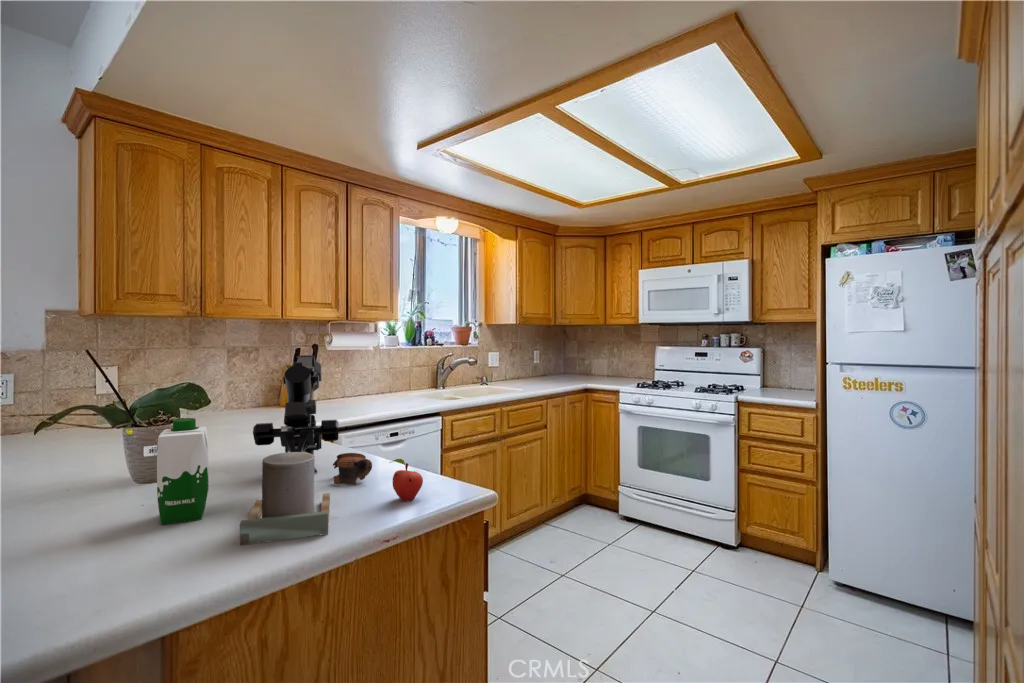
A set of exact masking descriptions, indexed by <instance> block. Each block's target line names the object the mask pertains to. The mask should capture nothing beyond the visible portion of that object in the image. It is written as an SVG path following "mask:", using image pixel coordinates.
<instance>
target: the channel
mask: <svg viewBox="0 0 1024 683" xmlns="http://www.w3.org/2000/svg"><path fill="white" fill-rule="evenodd" d="M321 500H322V501H321V508H320V511H316V512H315V511H314V513H305V514H296V515H286V516H277V517H268V518H262V499H256V501H255V502H254V505H253V506H252V509H251V510H250V513H249V515H248V517H247V519H243V520H242V519H241V520H240V523H239V546H243V545H244V546H245V544H246V545H253V543H254V544H261V543H260V542H262V543H268V542H267V541H270V542H277V540H278V541H285V539H286V540H293V538H294V539H299V537H302V538H307V537H306V536H311V537H314V536H313V535H319V536H321V535H320V534H327V535H329V525H330V524H329V522H330V508H329V507H331V506H330V505H331V493H330V492H326V493H322V499H321ZM328 524H329V525H328ZM258 542H259V543H258Z"/></svg>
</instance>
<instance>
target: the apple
mask: <svg viewBox="0 0 1024 683" xmlns="http://www.w3.org/2000/svg"><path fill="white" fill-rule="evenodd" d="M393 462H395V463H399V464H403V465H405V466H404V467H405V468H404V469H405V470H403V469H399V470H395V472H394V473H393V476H392V488H393V490H394V492H395V493H396V496H397V497H398V498H399V499H400V500H401V501H403V502H410V500H411V501H414V500H415V498H416V496H417V495H418V493H419V492H420V490H421V489H422V486H423V483H424V477H423V476H422V474H421V473H419V472H418V471H415V470H414V471H411V470H408V467H409V463H407V462H406V463H405V461H404V459H402V458H396V459H393V460H392V461H389V462H388V463H389V464H391V463H393Z"/></svg>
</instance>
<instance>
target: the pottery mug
mask: <svg viewBox="0 0 1024 683" xmlns="http://www.w3.org/2000/svg"><path fill="white" fill-rule="evenodd" d="M332 466H333V469H338V474H337V475H334V476H333V485H334V484H337V485H354V484H355V485H357V480H358V478H359V480H360V481H363V480H364V479H365V478H366V477H367V476H368V475H369V474H370V473H371V471H372V468H373V462H372V461H371V460H370V459H368V458H367V457H366V455H364V454H363V453H358V452H345V453H340V454H337V455H336V460H335V461H334V462H333V463H332Z"/></svg>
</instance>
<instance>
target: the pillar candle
mask: <svg viewBox="0 0 1024 683" xmlns="http://www.w3.org/2000/svg"><path fill="white" fill-rule="evenodd" d="M315 457H316V456H315V455H313V454H310V453H307V452H289V451H287V452H286V453H285V452H280V453H279V452H278V453H274V454H271V455H268V456H265V457H264V458H263V459H262V463H261V464H262V466H261V472H262V473H261V474H262V475H261V482H262V483H261V500H262V515H261V518H268V517H277V516H286V515H296V514H305V513H314V512H315V511H314V510H315V508H314V507H315V473H314V467H315Z"/></svg>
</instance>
